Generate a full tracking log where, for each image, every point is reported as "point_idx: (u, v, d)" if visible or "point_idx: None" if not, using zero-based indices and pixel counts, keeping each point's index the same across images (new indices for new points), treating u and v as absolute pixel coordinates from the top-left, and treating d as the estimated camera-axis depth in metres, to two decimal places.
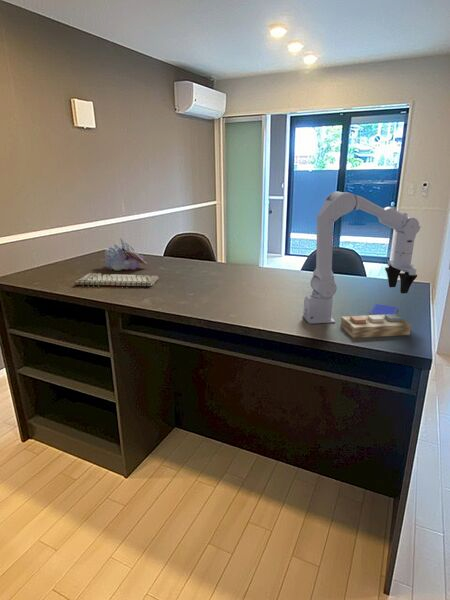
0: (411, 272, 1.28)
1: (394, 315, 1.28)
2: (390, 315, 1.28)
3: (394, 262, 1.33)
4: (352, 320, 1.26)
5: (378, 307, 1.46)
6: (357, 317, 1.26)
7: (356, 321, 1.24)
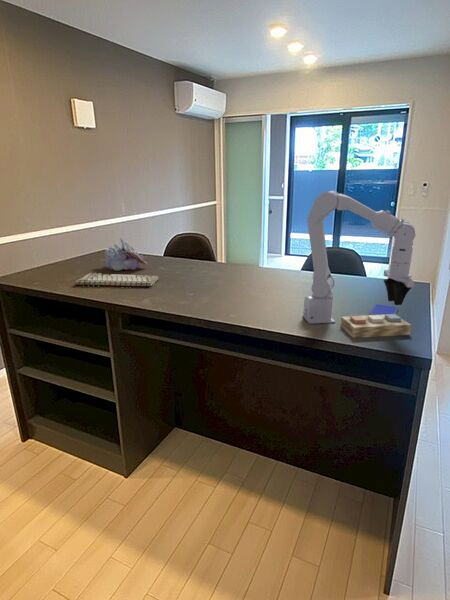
0: (409, 284, 1.16)
1: (394, 315, 1.28)
2: (390, 315, 1.28)
3: (390, 273, 1.22)
4: (352, 320, 1.26)
5: (378, 307, 1.46)
6: (357, 317, 1.26)
7: (356, 321, 1.24)
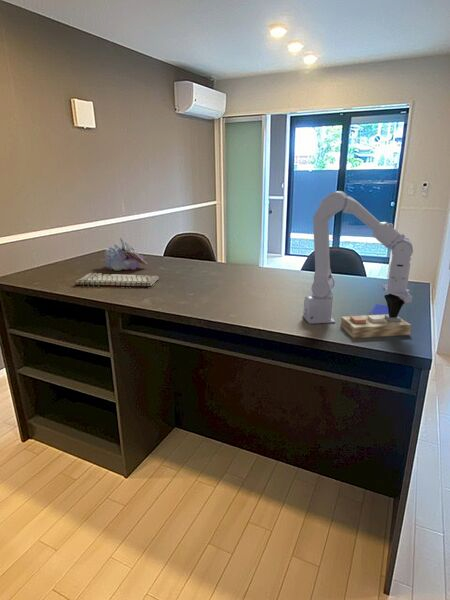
0: (407, 299, 1.18)
1: None
2: None
3: (388, 287, 1.23)
4: (352, 320, 1.26)
5: (378, 307, 1.46)
6: (357, 317, 1.26)
7: (356, 321, 1.24)
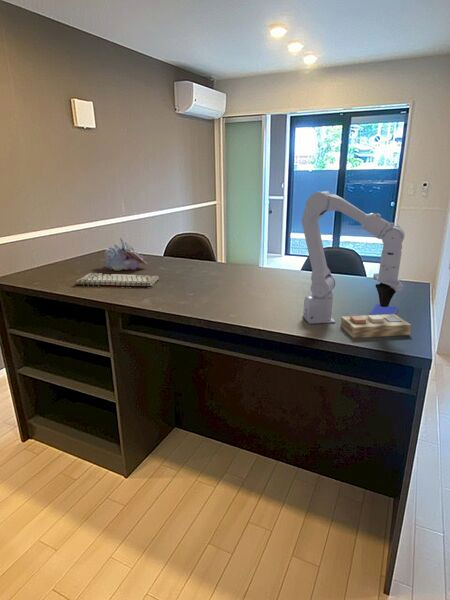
0: (398, 288, 1.16)
1: (394, 318, 1.28)
2: (390, 318, 1.28)
3: (380, 276, 1.22)
4: (352, 320, 1.26)
5: (378, 307, 1.46)
6: (357, 317, 1.26)
7: (356, 321, 1.24)
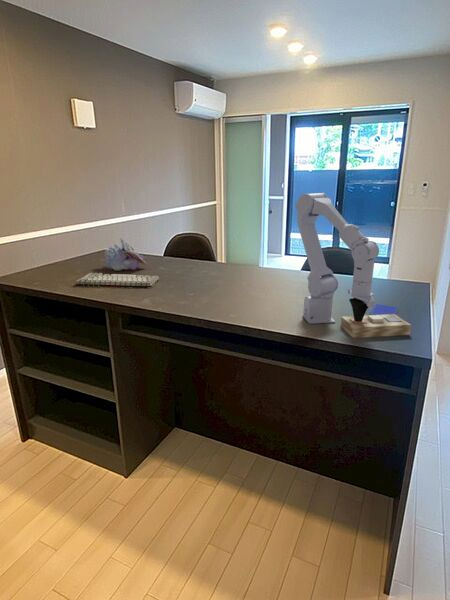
0: (369, 303, 1.16)
1: (394, 318, 1.28)
2: (390, 318, 1.28)
3: (353, 291, 1.22)
4: None
5: (378, 307, 1.46)
6: None
7: None
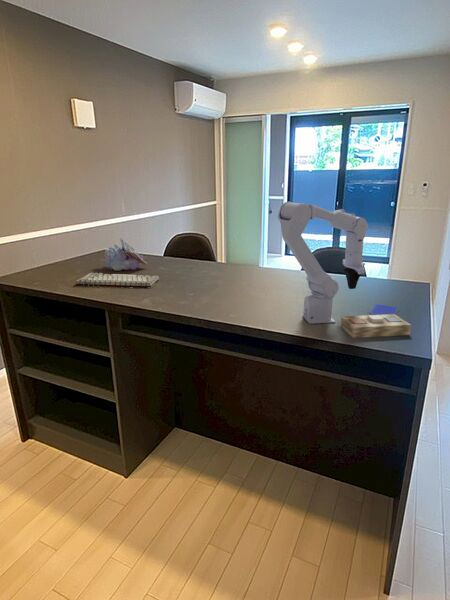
0: (360, 271, 1.30)
1: (394, 318, 1.28)
2: (390, 318, 1.28)
3: (345, 261, 1.36)
4: None
5: (378, 307, 1.46)
6: (356, 321, 1.26)
7: None
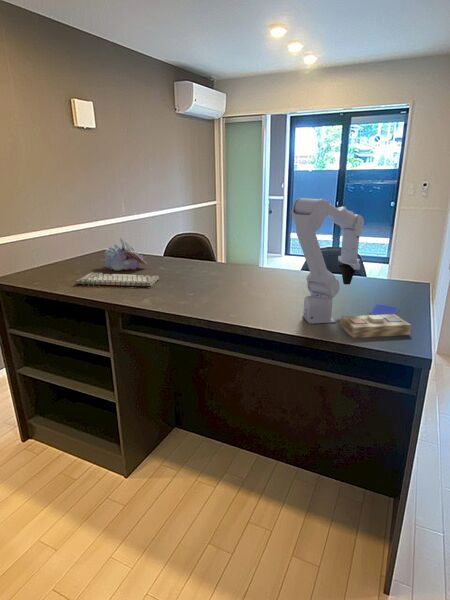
0: (355, 267, 1.34)
1: (394, 318, 1.28)
2: (390, 318, 1.28)
3: (341, 257, 1.40)
4: None
5: (378, 307, 1.46)
6: (356, 321, 1.26)
7: None
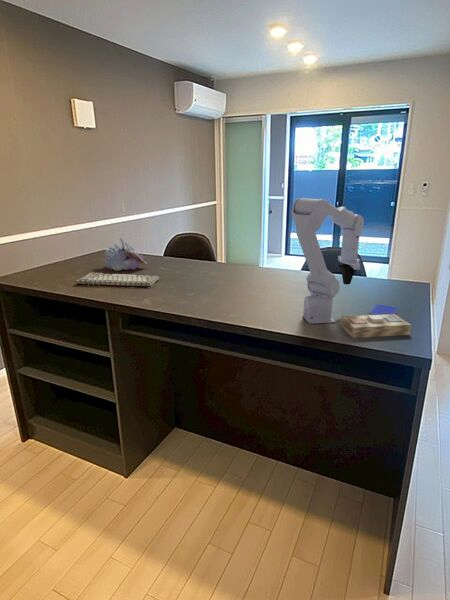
0: (355, 267, 1.34)
1: (394, 318, 1.28)
2: (390, 318, 1.28)
3: (341, 257, 1.40)
4: None
5: (378, 308, 1.46)
6: (356, 321, 1.26)
7: None
